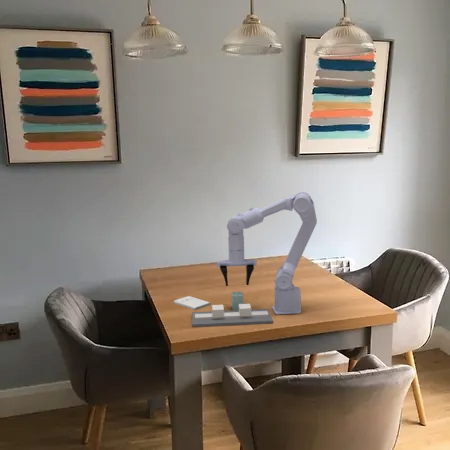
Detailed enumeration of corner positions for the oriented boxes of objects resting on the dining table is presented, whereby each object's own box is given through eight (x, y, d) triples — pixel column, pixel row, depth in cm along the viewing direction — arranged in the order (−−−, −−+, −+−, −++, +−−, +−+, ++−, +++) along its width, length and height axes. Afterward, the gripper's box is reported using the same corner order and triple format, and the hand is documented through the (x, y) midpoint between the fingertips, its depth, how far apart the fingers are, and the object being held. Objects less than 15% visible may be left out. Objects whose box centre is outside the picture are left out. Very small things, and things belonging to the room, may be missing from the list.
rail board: (268, 311, 197) (268, 299, 197) (273, 323, 186) (273, 310, 185) (192, 314, 196) (191, 302, 195) (192, 327, 184) (191, 314, 183)
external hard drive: (194, 311, 201) (173, 304, 209) (210, 306, 206) (189, 299, 215) (194, 307, 200) (173, 300, 209) (210, 302, 206) (189, 295, 215)
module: (242, 306, 203) (242, 291, 202) (243, 311, 198) (243, 295, 197) (231, 307, 203) (231, 291, 202) (232, 311, 198) (232, 296, 197)
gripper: (254, 245, 201) (255, 280, 203) (216, 247, 200) (217, 282, 202) (257, 250, 194) (257, 286, 196) (217, 251, 193) (218, 288, 196)
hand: (237, 284), depth 199 cm, fingers open, 7 cm apart
